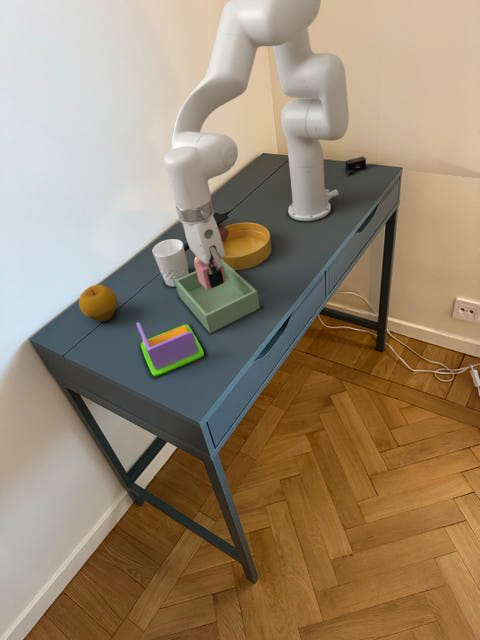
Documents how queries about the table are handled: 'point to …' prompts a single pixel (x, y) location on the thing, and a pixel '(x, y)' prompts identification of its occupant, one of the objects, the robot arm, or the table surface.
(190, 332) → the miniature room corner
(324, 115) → the robot arm
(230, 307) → the tub
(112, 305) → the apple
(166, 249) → the white cup
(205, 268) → the toy bear
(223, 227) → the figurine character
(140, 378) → the table surface
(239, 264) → the bowl
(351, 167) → the wireless earbuds
